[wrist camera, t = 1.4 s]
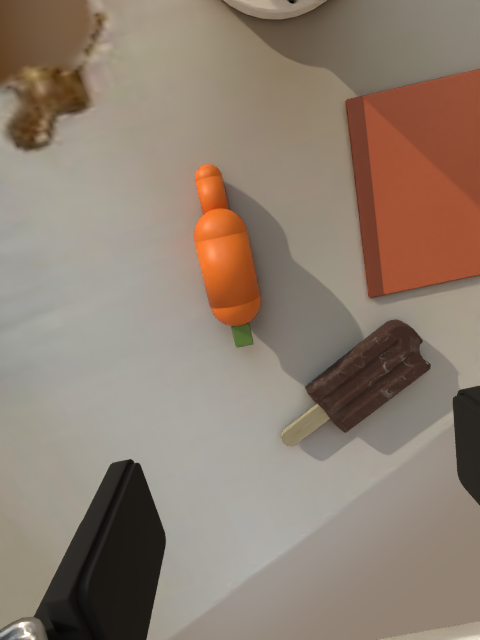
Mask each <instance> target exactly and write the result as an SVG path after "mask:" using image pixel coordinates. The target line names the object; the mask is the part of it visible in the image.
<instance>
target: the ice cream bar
mask: <svg viewBox="0 0 480 640" xmlns="http://www.w3.org/2000/svg"><path fill="white" fill-rule="evenodd" d="M421 343H422V339H421V338H420V337H419V335H418V334H417V333H416V332H415V330H414V329H413V328H411V327H410V326H408V325H407V324H405V323H403V322H402V321H399V320H391V321H388V322H386V323H385V324H383V325H382V326H381V327H380V328H378V329H377V330H376V331H375V332H373V333H372V334H371V335H370V336H368V337H367V338H366V339H365V340H363V341H362V342H361V343H360V344H358V345H357V346H356V347H355V348H353V349H352V350H351V351H350V352H348V353H347V354H346V355H345V356H343V357H342V358H341V359H340V360H338V361H337V362H336V363H335V364H333V365H332V366H331V367H330V368H328V369H327V370H326V371H325V372H323V373H322V374H321V375H320V376H318V377H317V378H316V379H315V380H313V381H312V382H311V383H310V384H308V385H307V386H306V387H305V388H306V390H307V392H308V394H309V395H310V396H311V398H312V399H313V400H314V401H315V402H316V403H317V404H316V405H315V406H313V407H312V408H311V409H310V410H308V411H307V412H306V413H304V414H303V415H302V416H301V417H299V418H298V419H297V420H296V421H294V422H293V423H292V424H290V425H289V426H288V427H287V428H285V429H284V430H283V431H282V433H281V438H282V442H283V443H284V444H285V445H287V446H294V445H296V444H298V443H299V442H300V441H302V440H303V439H304V438H306V437H307V436H308V435H309V434H311V433H312V432H313V431H315V430H316V429H317V428H319V427H320V426H321V425H322V424H324V423H325V422H326V421H328V420H329V419H331V420H332V421H333V423H334V424H335V425H336V426H337V427H339V428H340V429H341V430H342V431H344V432H347V431H349V430H350V429H351V428H353V427H354V426H355V425H357V424H358V423H359V422H361V421H362V420H363V419H365V418H366V417H367V416H369V415H370V414H371V413H373V412H374V411H375V410H376V409H378V408H379V407H380V406H382V405H383V404H384V403H386V402H387V401H388V400H390V399H391V398H392V397H394V396H395V395H396V394H398V393H399V392H400V391H402V390H403V389H404V388H406V387H407V386H408V385H410V384H411V383H412V382H414V381H415V380H416V379H418V378H419V377H420V376H422V375H423V374H424V373H426V372H427V371H428V370H429V369H430V364H429V363H428V362H427V361H425V360H424V359H423V358H422V357H421V355H420V352H419V346H420V344H421Z"/></svg>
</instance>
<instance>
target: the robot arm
mask: <svg viewBox="0 0 480 640" xmlns="http://www.w3.org/2000/svg"><path fill="white" fill-rule="evenodd" d="M223 1H225V2H226V3H227V4H228V5H229V6H231V7H233V8H235V9H237V10H239V11H241V12H243V13H244V14H247V15H251V16H254V17H258V18H262V19H278V20H280V19H286V18H291V17H297V16H299V15H302V14H304V13H307V12H309V11H311V10H314V9H315V8H317V7H318V6H320V5H321V4H322V3H324V2H325V1H327V0H292V1H294V4H292V3H290V2H288V1H289V0H223ZM453 412H454V427H455V443H456V458H457V472H458V477H459V479H460V482H461V483H462V485H463V486H464V488H465V489H466V490H467V491H468V492H469V494H470V495H471V496H472V497H473V498H474V499H475V500H476V501H477V503H478V504H479V505H480V386H476V387H471V388H467V389H462V390H459V391H458V394H457V396H455V397H454V398H453ZM165 545H166V537H165V532H164V529H163V526H162V523H161V520H160V518H159V515H158V512H157V509H156V507H155V504H154V501H153V498H152V496H151V493H150V490H149V487H148V484H147V482H146V479H145V476H144V473H143V471H142V468H141V465H140V464H139V463H134V461H133V460H131V459H129V460H124V461H119V462H115V463H112V464H111V465H110V466H109V468H108V470H107V472H106V474H105V476H104V478H103V481H102V483H101V485H100V487H99V489H98V491H97V493H96V495H95V497H94V499H93V501H92V503H91V505H90V507H89V509H88V511H87V513H86V515H85V517H84V519H83V521H82V522H81V524H80V525H79V527H78V529H77V531H76V533H75V535H74V537H73V539H72V541H71V543H70V545H69V547H68V549H67V551H66V553H65V555H64V557H63V559H62V561H61V563H60V565H59V567H58V569H57V571H56V573H55V575H54V577H53V579H52V581H51V583H50V585H49V587H48V589H47V591H46V593H45V595H44V597H43V599H42V601H41V603H40V605H39V607H38V609H37V611H36V613H35V615H34V617H26V618H21V619H19V620H16V621H14V622H12V623H10V624H9V625H7V626H5V627H4V628H2V629H1V630H0V640H146V638H147V634H148V629H149V624H150V619H151V614H152V609H153V604H154V599H155V595H156V590H157V585H158V580H159V575H160V570H161V565H162V560H163V555H164V551H165ZM378 640H480V621H478V622H472V623H466V624H462V625H455V626H450V627H444V628H439V629H433V630H428V631H421V632H416V633H410V634H405V635H400V636H394V637H389V638H383V639H378Z"/></svg>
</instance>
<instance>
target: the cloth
mask: <svg viewBox="0 0 480 640" xmlns="http://www.w3.org/2000/svg"><path fill="white" fill-rule="evenodd" d="M346 108H347V117H348V125H349V134H350V142H351V151H352V159H353V168H354V177H355V185H356V194H357V202H358V211H359V219H360V228H361V236H362V245H363V253H364V262H365V270H366V279H367V287H368V296H369V297H370V298H371V297H375V296H380V295H385V294H389V293H394V292H399V291H404V290H408V289H413V288H418V287H423V286H427V285H432V284H437V283H442V282H446V281H451V280H456V279H461V278H465V277H470V276H475V275H480V69H478V70H473V71H469V72H465V73H460V74H456V75H452V76H447V77H443V78H438V79H434V80H430V81H425V82H421V83H417V84H412V85H408V86H404V87H399V88H395V89H391V90H386V91H382V92H378V93H373V94H369V95H365V96H360V97H356V98H351V99H347V100H346Z"/></svg>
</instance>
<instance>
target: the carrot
mask: <svg viewBox="0 0 480 640" xmlns="http://www.w3.org/2000/svg"><path fill="white" fill-rule="evenodd" d="M195 181H196V186H197V190H198V194H199V199H200V203H201V207H202V212H203V216H202V217H201V218H200V219H199V221H198V222H197V224H196V227H195V231H194V240H195V246H196V250H197V254H198V258H199V262H200V266H201V270H202V275H203V279H204V283H205V287H206V291H207V295H208V299H209V304H210V307H211V310H212V312H213V314H214V316H215V317H216V318H217V319H218V320H219V321H221V322H222V323H224V324H226V325H229V326H232V331H233V336H234V340H235V345H236V347H242V346H247V345H252V344H253V339H252V334H251V329H250V325H249V322H250V321H251V320H253V318H254V317H255V316H256V315H257V313H258V311H259V308H260V303H261V298H260V292H259V287H258V282H257V277H256V272H255V267H254V262H253V257H252V252H251V247H250V242H249V237H248V232H247V228H246V225H245V223H244V221H243V220H242V219H241V217H240V216H239V215H237V214H236V213H235V212H233V211H231V210H229V207H228V202H227V197H226V193H225V188H224V183H223V178H222V175H221V172H220V171H219V169H218V168H217V167H215V166H214V165H209V164H207V165H203V166H201V167H200V168H199V169H198V171H197V173H196V176H195Z"/></svg>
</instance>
